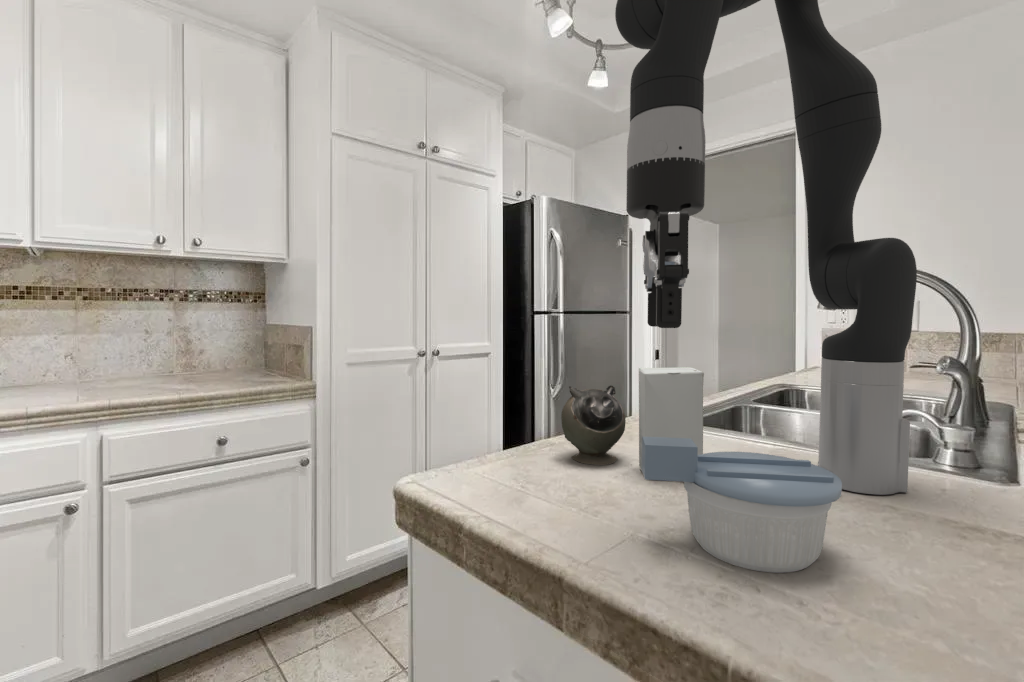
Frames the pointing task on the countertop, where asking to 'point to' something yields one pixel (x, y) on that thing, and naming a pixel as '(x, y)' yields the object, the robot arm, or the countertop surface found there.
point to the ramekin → (756, 531)
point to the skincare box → (671, 404)
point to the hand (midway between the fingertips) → (662, 327)
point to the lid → (740, 473)
